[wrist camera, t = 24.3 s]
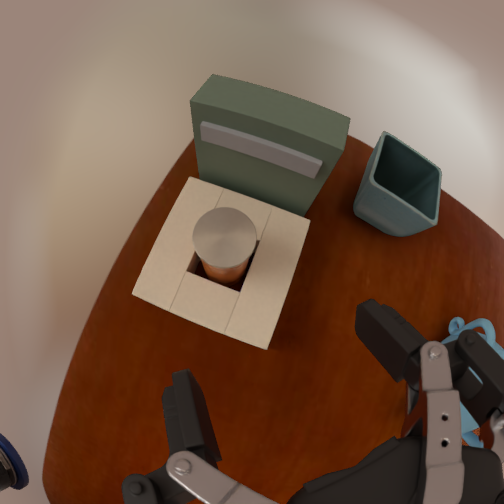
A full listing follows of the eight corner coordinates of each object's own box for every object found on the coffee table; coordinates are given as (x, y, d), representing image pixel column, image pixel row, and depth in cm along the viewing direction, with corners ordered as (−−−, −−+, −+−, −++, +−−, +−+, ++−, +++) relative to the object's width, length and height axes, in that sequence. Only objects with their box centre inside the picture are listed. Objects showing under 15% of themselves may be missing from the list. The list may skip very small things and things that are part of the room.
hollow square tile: (143, 299, 27) (131, 293, 23) (193, 194, 31) (189, 176, 27) (261, 347, 27) (266, 350, 23) (300, 234, 31) (310, 220, 27)
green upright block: (199, 193, 31) (186, 104, 18) (215, 164, 32) (212, 73, 19) (297, 229, 31) (342, 155, 17) (307, 197, 32) (350, 118, 19)
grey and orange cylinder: (205, 291, 28) (195, 271, 19) (199, 247, 29) (189, 211, 21) (251, 284, 28) (262, 262, 20) (243, 241, 30) (250, 203, 21)
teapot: (453, 444, 23) (504, 458, 13) (384, 417, 25) (445, 440, 14) (490, 356, 28) (541, 350, 17) (433, 308, 29) (496, 292, 19)
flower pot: (355, 169, 34) (383, 128, 26) (406, 201, 34) (442, 169, 25) (335, 218, 32) (368, 180, 23) (393, 253, 31) (437, 227, 22)
